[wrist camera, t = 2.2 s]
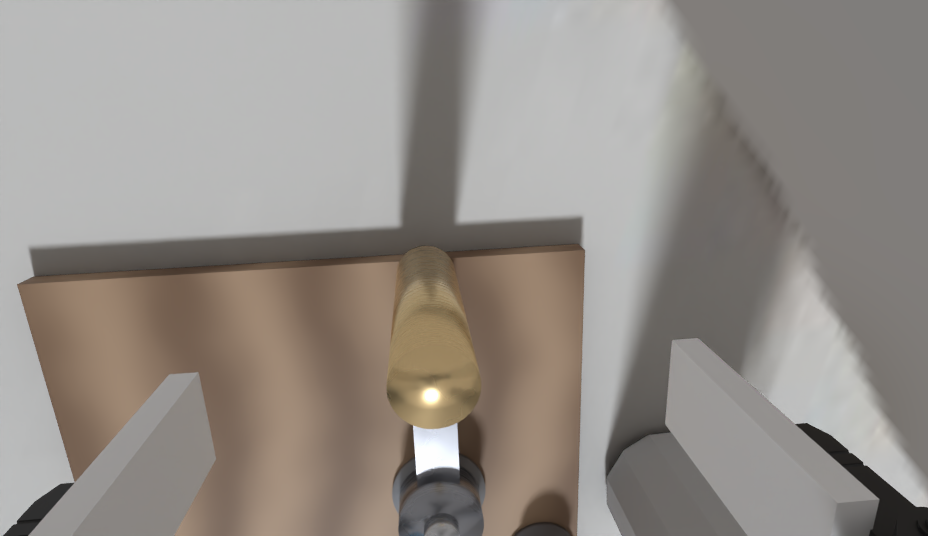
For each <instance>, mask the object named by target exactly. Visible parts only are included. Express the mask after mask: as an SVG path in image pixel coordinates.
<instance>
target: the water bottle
mask: <svg viewBox="0 0 928 536" xmlns="http://www.w3.org/2000/svg"><path fill="white" fill-rule="evenodd" d="M607 505H608V507H609V509H610V512H611V514H612V516H613V518H614V520H615V522H616V524H617V526H618V528H619V531H620V533H621V535H622V536H747V534H746V533H745V532H744V530H743V529H742V528H741V526H740V525H739V524H738V522H737V521H736V520H735V518H734V517H733V515H732V514H731V513H730V511H729V510H728V509H727V507H726V506H725V505H724V503H723V502H722V501H721V499H720V498H719V496H718V495H717V494H716V492H715V491H714V490H713V488H712V487H711V486H710V484H709V483H708V482H707V480H706V479H705V477H704V476H703V475H702V473H701V472H700V471H699V469H698V468H697V467H696V465H695V464H694V463H693V461H692V460H691V459H690V457H689V456H688V454H687V453H686V452H685V450H684V449H683V448H682V446H681V445H680V444H679V442H678V441H677V440H676V438H675V437H674V435H673V434H672V433H671V432H668V433H660V434H652V435H647V436H645V437H644V438H642V439H640V440H639V441H637V442H636V443H634V444H632V445H631V446H629V447H628V448H626V449H624V450H623V452H622V453H621V455H620V457H619V458H618V460H617V461H616V463H615V465H614V466H613V468H612V469H611V471H610V473H609V475H608V476H607Z"/></svg>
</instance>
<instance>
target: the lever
mask: <svg viewBox="0 0 928 536" xmlns="http://www.w3.org/2000/svg"><path fill="white" fill-rule="evenodd" d="M386 388H387V397H388V400H389V403H390V405H391V407H392V409H393V410H394V412H395V413H396V414H397V415H398V416H399V417H400V418H401V419H403V420H404V421H406V422H407V423H409V424H411V425H413V433H414V447H415V460H416V470H414V471H413V472H412V473H411V474H409V476H408V477H407V478H406V479H405V481H404V482H403V484H402V486H401V489H400V495H399V525H398V532H399V536H482V534H483V530H484V519H483V513H482V507H481V501H480V495H479V489H478V485H477V482H476V480H475V478H474V477H473V476H472V474H471V473H470V472H469V471H467V470H466V469H465V468H463V467H461V466H459V450H458V429H457V423H458V422H460V421H461V420H463V419H464V418H465V417H466V416H468V415H469V414H470V413H471V411H472V410H473V409H474V407H475V406H476V404H477V402H478V400H479V397H480V393H481V377H480V373H479V369H478V365H477V361H476V357H475V352H474V348H473V344H472V340H471V336H470V331H469V327H468V323H467V319H466V315H465V310H464V306H463V302H462V298H461V294H460V290H459V285H458V281H457V277H456V273H455V269H454V265H453V262H452V260H451V259H450V257H449V256H448V255H447V254H446V253H445V252H444V251H442V250H440V249H439V248H436V247H433V246H419V247H416V248H413V249H411V250H410V251H408V252H407V253H406V254H405V255H404V256H403V257H402V258H401V260H400V262H399V264H398V267H397V274H396V285H395V296H394V307H393V318H392V330H391V341H390V352H389V363H388V374H387V385H386Z"/></svg>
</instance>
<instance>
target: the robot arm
mask: <svg viewBox="0 0 928 536" xmlns="http://www.w3.org/2000/svg"><path fill="white" fill-rule="evenodd" d="M665 425H666V426H667V427H668V429H669V430H670V431H671V433H672V434H673V435H674V437H675V438H676V440H677V441H678V442H679V444H680V445H681V446H682V448H683V449H684V450H685V452H686V453H687V454H688V456H689V457H690V459H691V460H692V461H693V463H694V464H695V465H696V467H697V468H698V469H699V471H700V472H701V473H702V475H703V476H704V477H705V479H706V480H707V482H708V483H709V484H710V486H711V487H712V488H713V490H714V491H715V492H716V494H717V495H718V496H719V498H720V499H721V501H722V502H723V503H724V505H725V506H726V507H727V509H728V510H729V511H730V513H731V514H732V515H733V517H734V518H735V520H736V521H737V522H738V524H739V525H740V526H741V528H742V529H743V530H744V532H745V533H746V534H747V536H928V508H927V507H915V506H914V505H913V504H912V503H911V502H909V501H908V500H907V499H906V498H905V497H904V496H902V495H901V494H900V493H899V492H898V491H896V490H895V489H894V488H893V487H892V486H890V485H889V484H888V483H887V482H886V481H884V480H883V479H882V478H881V477H880V476H878V475H877V474H876V473H875V472H874V471H873V470H871V469H870V468H869V467H868V466H864V465H863V462H862V461H861V460H859V459H858V458H857V457H856V456H855V455H853V454H852V453H849V452H848V449H846V448H845V447H844V446H843V445H842V444H840V443H839V442H838V441H837V440H836V439H834V438H833V437H832V436H831V435H829V434H827V433H825V432H823V431H821V430H819V429H817V428H815V427H813V426H811V425H809V424H808V423H803V424H794V423H793V422H792V421H791V420H790V419H789V418H787V417H786V416H785V415H784V414H783V413H782V412H781V411H780V410H778V409H777V408H776V407H775V406H774V405H773V404H772V403H771V402H769V401H768V400H767V399H766V398H765V397H764V396H763V395H762V394H760V393H759V392H758V391H757V390H756V389H755V388H754V387H753V386H751V385H750V384H749V383H748V382H747V381H746V380H745V379H744V378H742V377H741V376H740V375H739V374H738V373H737V372H736V371H735V370H733V369H732V368H731V367H730V366H729V365H728V364H727V363H726V362H724V361H723V360H722V359H721V358H720V357H719V356H718V355H717V354H715V353H714V352H713V351H712V350H711V349H710V348H709V347H708V346H706V345H705V344H704V343H703V342H702V341H701V340H700V339H699V338H692V339H677V340H672V346H671V358H670V370H669V382H668V394H667V406H666V418H665ZM215 460H216V456H215V451H214V446H213V441H212V436H211V431H210V426H209V421H208V417H207V412H206V407H205V402H204V397H203V392H202V387H201V382H200V377H199V372H196V373H181V374H169V375H168V376H167V378H166V379H165V380H164V381H163V382H162V383H161V384H160V386H159V387H158V388H157V389H156V390H155V391H154V392H153V394H152V395H151V396H150V397H149V398H148V399H147V400H146V402H145V403H144V404H143V405H142V406H141V407H140V408H139V410H138V411H137V412H136V413H135V414H134V415H133V416H132V418H131V419H130V420H129V421H128V422H127V423H126V424H125V426H124V427H123V428H122V429H121V430H120V431H119V432H118V434H117V435H116V436H115V437H114V438H113V439H112V441H111V442H110V443H109V444H108V445H107V446H106V447H105V449H104V450H103V451H102V452H101V453H100V454H99V455H98V457H97V458H96V459H95V460H94V461H93V462H92V463H91V465H90V466H89V467H88V468H87V469H86V470H85V471H84V473H83V474H82V475H81V476H80V477H79V478H78V479H77V481H76V482H75V483H66V484H60V485H58V486H57V487H55V488H54V489H53V490H51V491H50V492H48V493H47V494H45V495H44V496H42V497H41V498H39V499H38V500H36V501H35V502H34V503H33V504H32V505H31V506H30V507H29V509H28V510H27V511H26V512H25V513H24V514H23V515H22V516H21V517H20V518H19V519H18V520H17V524H15V525H13V526H12V527H11V528H10V529H9V530H8V531H7V532H6V533H5V534H4V535H3V536H174V535H175V533H176V531H177V529H178V528H179V526H180V524H181V522H182V520H183V518H184V517H185V515H186V513H187V511H188V509H189V508H190V506H191V504H192V502H193V500H194V498H195V497H196V495H197V493H198V491H199V489H200V487H201V486H202V484H203V482H204V480H205V478H206V476H207V475H208V473H209V471H210V469H211V467H212V465H213V464H214V462H215Z"/></svg>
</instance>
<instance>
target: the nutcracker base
mask: <svg viewBox="0 0 928 536" xmlns="http://www.w3.org/2000/svg"><path fill="white" fill-rule="evenodd" d="M445 253H446V254H447V255H448V256H449V257H450V259H451V260H452V262H453V265H454V269H455V273H456V277H457V281H458V285H459V290H460V294H461V298H462V302H463V306H464V310H465V315H466V319H467V323H468V327H469V331H470V336H471V340H472V344H473V348H474V352H475V357H476V361H477V365H478V369H479V373H480V377H481V393H480V397H479V400H478V402H477V404H476V406H475V407H474V409H473V410H472V411H471V413H470V414H469V415H468V416H466V417H465V418H464V419H463V420H461V421H460V422H458V423H457V429H458V450H459V466H461V467H463V468H465V469H466V470H467V471H469V472H470V473H471V474H472V476H473V477H474V478H475V480H476V482H477V485H478V489H479V495H480V501H481V507H482V513H483V519H484V530H483V534H482V536H577V513H578V478H579V442H580V406H581V370H582V334H583V299H584V263H585V250H584V249H583V248H582V247H581V246H580V245H579V244H570V245H553V246H536V247H520V248H503V249H486V250H469V251H453V252H445ZM404 255H405V254H403V255H386V256H369V257H353V258H336V259H319V260H302V261H286V262H269V263H252V264H236V265H219V266H202V267H185V268H169V269H152V270H135V271H119V272H102V273H85V274H68V275H52V276H35V277H32V278H30V279H28V280H26V281H24V282H21V283H19V284H17V286H18V289H19V293H20V296H21V299H22V303H23V306H24V310H25V313H26V317H27V320H28V323H29V327H30V330H31V334H32V337H33V341H34V344H35V347H36V351H37V354H38V358H39V361H40V365H41V368H42V371H43V375H44V378H45V382H46V385H47V388H48V392H49V395H50V399H51V402H52V406H53V409H54V412H55V416H56V419H57V423H58V426H59V430H60V433H61V436H62V440H63V443H64V447H65V450H66V454H67V457H68V460H69V464H70V467H71V471H72V474H73V478H74V481H75V482H76V481H77V479H78V478H79V477H80V476H81V475H82V474H83V473H84V471H85V470H86V469H87V468H88V467H89V466H90V465H91V463H92V462H93V461H94V460H95V459H96V458H97V457H98V455H99V454H100V453H101V452H102V451H103V450H104V449H105V447H106V446H107V445H108V444H109V443H110V442H111V441H112V439H113V438H114V437H115V436H116V435H117V434H118V432H119V431H120V430H121V429H122V428H123V427H124V426H125V424H126V423H127V422H128V421H129V420H130V419H131V418H132V416H133V415H134V414H135V413H136V412H137V411H138V410H139V408H140V407H141V406H142V405H143V404H144V403H145V402H146V400H147V399H148V398H149V397H150V396H151V395H152V394H153V392H154V391H155V390H156V389H157V388H158V387H159V386H160V384H161V383H162V382H163V381H164V380H165V379H166V378H167V376H168V375H169V374H181V373H196V372H199V377H200V382H201V387H202V392H203V397H204V402H205V407H206V412H207V417H208V421H209V426H210V431H211V436H212V441H213V446H214V451H215V456H216V460H215V462H214V464H213V465H212V467H211V469H210V471H209V473H208V475H207V476H206V478H205V480H204V482H203V484H202V486H201V487H200V489H199V491H198V493H197V495H196V497H195V498H194V500H193V502H192V504H191V506H190V508H189V509H188V511H187V513H186V515H185V517H184V518H183V520H182V522H181V524H180V526H179V528H178V529H177V531H176V533H175V535H174V536H399V532H398V525H399V495H400V489H401V486H402V484H403V482H404V481H405V479H406V478H407V477H408V476H409V474H411V473H412V472H413V471H414V470H416V460H415V447H414V433H413V425H411V424H409V423H407V422H406V421H404V420H403V419H401V418H400V417H399V416H398V415H397V414H396V413H395V412H394V410H393V409H392V407H391V405H390V403H389V400H388V397H387V388H386V385H387V374H388V363H389V352H390V341H391V330H392V318H393V307H394V296H395V285H396V274H397V267H398V264H399V262H400V260H401V258H402V257H403V256H404Z"/></svg>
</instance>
